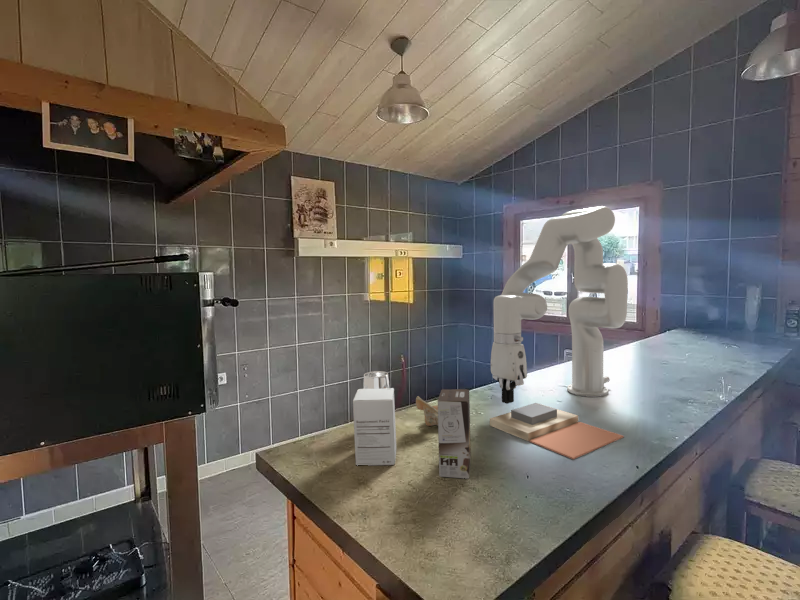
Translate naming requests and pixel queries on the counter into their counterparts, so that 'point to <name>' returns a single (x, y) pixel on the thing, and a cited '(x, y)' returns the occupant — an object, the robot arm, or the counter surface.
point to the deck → (529, 430)
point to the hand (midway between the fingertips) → (507, 402)
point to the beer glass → (376, 380)
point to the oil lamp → (428, 412)
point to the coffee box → (454, 433)
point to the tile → (533, 413)
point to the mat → (576, 439)
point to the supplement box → (374, 427)
